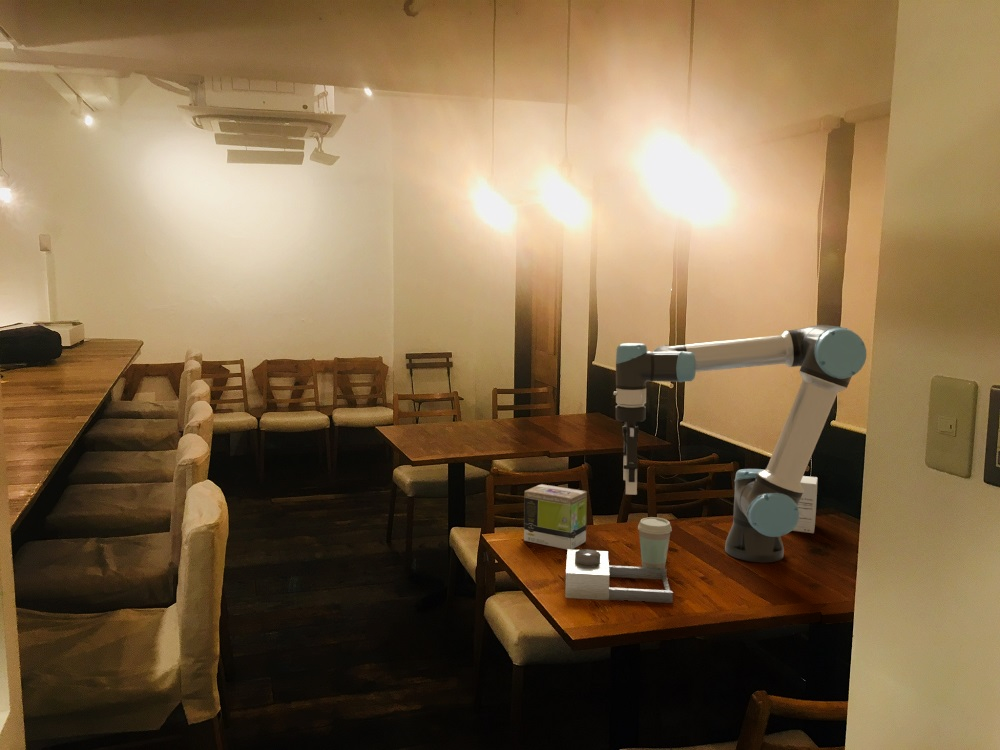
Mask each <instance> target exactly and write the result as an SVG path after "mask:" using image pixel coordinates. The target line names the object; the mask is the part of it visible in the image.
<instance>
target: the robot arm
mask: <svg viewBox="0 0 1000 750" xmlns="http://www.w3.org/2000/svg"><path fill="white" fill-rule="evenodd" d="M647 348H648V347H647V345H646V344H645V343H639V342H635V343H634V342H626V343H625V342H624V343H620V344H618V345H617V348H616V354H615V355H616V357H615V388H616V389H615V390H616V391H613V393H612V394H613V396H615V403H616V404H617V405H615V420H616V421H618V422H623V423H624V425H623V426H622V427H621V428H622V429H621V431H622V432H621V433H622V439H623V448H622V449H623V462H622V463H623V468H622V471H623V472H622V473H623V477H622V478H623V481H625V495H635V496H636V495H638V490H637V489H638V467H639V464H638V444H639V435H640V434H639V433H640V431H639V429H640V428H639V426H636V423H637V422H638V423H640V422H644V421H645V420H646V419H647V417H646V414H647V411H646V410H647V408H646V404H647V382H669V383H670V382H672V383H673V382H675V383H683V382H692V381H693V380H695V378H696V373H698V372H699V373H700V372H710V371H721V370H732V369H733V370H734V369H741V368H752V367H761V366H762V367H763V366H777V365H785V366H787V367H788V368H792V367H793V368H794V367H795V368H796V367H800V369H799V371H798V372H799V374H800V377H801V380H802V381H801V383H800V385H799V388H798V391H797V393H796V396H795V397H794V400H793V403H792V404H791V405H792V406H791V407H790V410H789V413H788V415H787V418H786V420H785V422H784V425H783V427H782V429H781V431H780V433H779V434H780V435H779V437H778V440H777V442H776V444H775V446H774V449H773V451H772V454H771V457H770V459H769V462H768V464H767V466H766V467H765V469H761V468H742V469H738V470H737V471H736V473H735V478H734V480H733V481H734V496H733V497H734V499H733V518H732V519H733V521H732V525H731V528H730V529H729V532H728V535H727V537H726V538H725V539H726V540H725V544H724V545H725V547H724V551H725V553H727V554H728V555H729V556H731V557H732V558H735V559H739V560H741V561H746V562H753V563H763V564H764V563H774V562H779V561H781V560H783V558H784V555H785V553H784V552H785V551H784V550H785V548H784V544H783V541H782V536H783V537H784V536H785V535H787V534H789V533H790V532H791V533H792V530H793V529H794V528H795V526H796V525H797V523H798V520H799V509H798V504H799V501H800V499H801V496H802V494H803V492H804V490H803V488H802V486H801V479H802V477H803V476H805V475H804V474H805V471H806V470H807V467H808V465H809V462H810V461H811V458H812V455H813V453H814V450H815V449H816V445H817V443H818V441H819V439H820V436H821V434H822V431H823V429H824V427H825V425H826V422H827V419H828V417H829V415H830V412H831V409H832V407H833V406H834V403H835V401H836V397H838V394H839V393H840V392H842V391H845V390H847V389H848V387H849V384H850V382H851V379H852V377H853V376H855V375H857V374H858V373H859V372H860V371H861V370H862V368H863V367H864V365H865V364H866V359H867V348H866V344H865V342H864V340H863V338H861V336H860V335H859V334H858V333H856V332H854V331H853V330H851V329H849V328H847V327H841V326H837V325H836V326H835V325H832V324H831V325H830V324H817V325H811V326H807V327H802V328H795V329H788V330H784V331H783V332H782V334H779V335H767V336H758V337H757V336H756V337H749V338H748V337H747V338H738V339H729V340H727V339H726V340H719V341H718V340H717V341H710V342H709V341H708V342H699V343H690V344H682V345H668V344H666V345H661V346H658V347H657V348H655V349H654V350H652V351H649V350H648V349H647Z"/></svg>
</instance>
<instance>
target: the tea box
mask: <svg viewBox="0 0 1000 750" xmlns="http://www.w3.org/2000/svg"><path fill="white" fill-rule="evenodd" d="M523 496H524V497H523V498H524V504H523V505H524V507H523V509H524V510H523V515H524V516H523V540H524V541H525V542H530V543H534V544H539V545H543V546H548V547H553V548H558V549H562V550H568V549H570V550H575V548H577V547H579V546H581V545H582V544H584V543H586V540H587V506H588V505H587V502H588V497H587V496H588V491H586V490H582V489H581V490H580V489H576V488H570V487H562V486H555V485H549V484H548V485H547V484H543V483H541V484H538V485H536V486H533V487H531V488H529V489H526V490H524V495H523Z"/></svg>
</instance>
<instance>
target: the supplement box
mask: <svg viewBox="0 0 1000 750" xmlns="http://www.w3.org/2000/svg"><path fill="white" fill-rule="evenodd" d="M801 486H802V488H803V490H804V492H803V494H802V496H801V499H800V501H799V504H798V509H799V520H798V523H797V525H796V526H795V528H794V529H793V530H792V531H793V532H798V533H799V532H801V533H810V534H814V533H815V527H816V526H815V525H816V516H817V515H816V513H817V498H818V496H817V495H818V477H817V476H806V475H803V477H802V479H801ZM792 531H791V532H792Z"/></svg>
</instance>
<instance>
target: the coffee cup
mask: <svg viewBox="0 0 1000 750" xmlns="http://www.w3.org/2000/svg"><path fill="white" fill-rule="evenodd" d="M637 529H638V532H639V534H638V535H639V544H640V545H639V546H640V547H639V548H640V557H641V558H640V559H641V560H640V561H641V567H653V568H666V561H667V556H668V550H669V544H670V537H671V533H672V531H673V530H672V526H671V522H670V521H669V520H668V519H666V518H662V517H653V516H650V517H644V518H641V519H640V521H639V523H638V526H637Z"/></svg>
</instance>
